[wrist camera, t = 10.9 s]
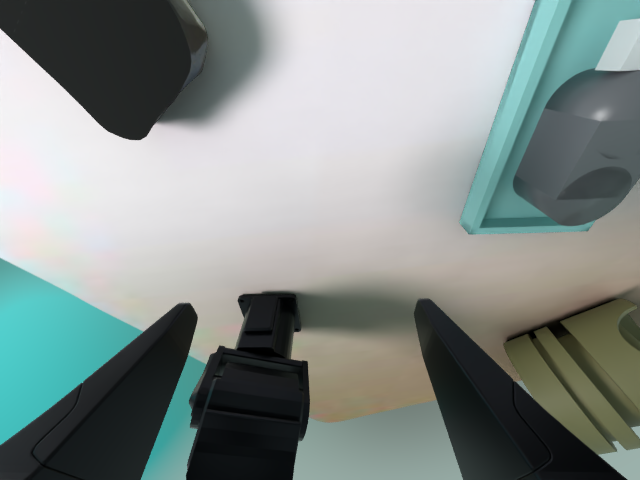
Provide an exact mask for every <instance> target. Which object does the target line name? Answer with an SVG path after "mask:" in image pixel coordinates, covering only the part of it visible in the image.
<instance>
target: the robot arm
mask: <svg viewBox="0 0 640 480" xmlns="http://www.w3.org/2000/svg"><path fill="white" fill-rule="evenodd" d="M238 303H239V306H240V308H241V311H242V314H243V316H244V321H243V324H242V327H241V331H240V334H239V337H238V340H237V343H236V347H235V349H230V348H225V346H219V348H218V350H217V352H216V353H213V354H211V355H210V357H209V360H208V362H207V365H206V367H205V370H204V372H203V374H202V376H201V378H200V380H199V382H198V384H197V385H196V387H195V389H194V391H193V393H192V395H191V397H190V400H189V404H190V406H191V408H192V413H191V416H192V419H191V423H190V428H194V429H198V430H197V433H196V437H195V440H194V443H193V446H192V450H191V453H190V456H189V459H188V464H187V470H188V471H187V474H186V480H293V472H294V463H295V457H296V451H297V446H298V441H302V440H303V438H304V436H305V433H306V429H307V424H308V418H309V407H310V396H309V378H308V361H303V360H302V361H297V360H292V359H291V352H292V343H293V334H294V332H299V331H301V323H300V316H299V310H298V304H297V297H296V296H295V295H292V294H287V295H241V296H239V298H238ZM414 318H415V323H416V327H417V332H418V337H419V342H420V346H421V351H422V355H423V359H424V362H425V365H426V368H427V371H428V374H429V377H430V380H431V383H432V386H433V389H434V392H435V395H436V398H437V402H438V405H439V408H440V410H441V413H442V416H443V420H444V423H445V425H446V429H447V432H448V435H449V438H450V441H451V444H452V447H453V450H454V453H455V456H456V459H457V462H458V465H459V468H460V471H461V474H462V477H463V480H627V479H626V478H625V477H624V476H622V475H621V474H620V473H619V472H617V471H616V470H615V469H614V468H613V467H611V466H610V465H609V464H608V463H607V462H606V461H604V460H603V459H602V458H601V457H600V456H598V455H597V454H596V453H595V452H594V451H593V450H592V449H590V448H589V447H588V446H587V445H586V444H584V443H583V442H582V441H581V440H580V439H579V438H577V437H576V436H575V435H574V434H573V433H572V432H570V431H569V430H568V429H567V428H566V427H564V426H563V425H562V424H561V423H560V422H559V421H558V420H556V419H555V418H554V417H553V416H552V415H551V414H550V413H548V412H547V411H546V410H545V409H544V408H543V407H542V406H541V405H540V404H539V403H538V402H536V401H535V400H534V399H533V398H532V397H531V396H530V395H529V394H528V393H527V392H526V391H525V390H524V389H523V388H522V387H520V386H519V385H518V384H517V383H516V382H515V381H513V379H512V378H511V377H510V376H509V375H508V374H507V373H506V372H505V371H504V370H503V369H502V368H501V367H500V366H499V365H498V364H497V363H496V362H495V361H494V360H493V359H492V358H491V357H489V356H488V355H487V354H486V353H485V352H484V351H483V350H482V349H481V348H480V347H479V346H478V345H477V344H476V343H475V342H474V341H473V340H472V339H471V338H470V337H469V336H468V335H467V334H466V333H465V332H464V331H463V330H462V329H461V328H460V327H458V326H457V325H456V324H455V323H454V322H453V321H452V320H451V319H450V318H449V317H448V316H447V315H446V314H445V313H444V312H443V311H442V310H441V309H440V308H439V307H438V306H437V305H436V304H435V303H434V302H433V301H432V300H430V299H418V301H417V304H416V308H415V311H414ZM197 320H198V317H197V314H196V312H195V310H194V308H193V307H192V305H191V304H190V303H179V304H177V305H176V306H175V307H173V308H172V309H171V310H170V311H169V312H167V313H166V314H165V315H164V316H162V317H161V318H160V319H159V320H158V321H156V322H155V323H154V324H153V325H151V326H150V327H149V328H148V329H147V330H145V331H144V332H143V333H142V334H140V335H139V336H138V337H137V338H136V339H134V340H133V341H132V342H131V343H130V344H128V345H127V346H126V347H125V348H123V349H122V350H121V351H120V352H118V353H117V354H116V355H115V356H114V357H112V358H111V359H110V360H109V361H108V362H106V363H105V364H104V365H103V366H101V367H100V368H99V369H98V370H97V371H95V372H94V373H93V374H92V375H91V376H89V377H88V378H87V379H86V380H85V381H84V382H83V383H81V384H79V385H78V386H77V387H76V388H75V389H73V390H72V391H71V392H70V393H68V394H67V395H66V396H65V397H64V398H62V399H61V400H60V401H58V402H57V403H56V404H55V405H53V406H52V407H51V408H49V410H47V411H46V412H44V413H43V414H42V415H40V416H39V417H38V418H36V419H35V420H34V421H32V422H31V423H30V424H28V425H27V426H26V427H25V428H23V429H22V430H20V431H19V432H18V433H16V434H15V435H13V436H12V437H11V438H9V439H8V440H7V441H5V442H4V443H3V444H1V445H0V480H141V477H142V474H143V472H144V469H145V466H146V464H147V461H148V459H149V456H150V454H151V451H152V448H153V446H154V443H155V441H156V438H157V435H158V433H159V430H160V428H161V425H162V422H163V420H164V417H165V415H166V412H167V409H168V407H169V404H170V402H171V399H172V396H173V394H174V391H175V389H176V386H177V383H178V381H179V378H180V375H181V373H182V370H183V368H184V365H185V362H186V359H187V357H188V353H189V350H190V346H191V343H192V339H193V335H194V332H195V328H196V324H197Z"/></svg>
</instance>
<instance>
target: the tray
mask: <svg viewBox="0 0 640 480" xmlns="http://www.w3.org/2000/svg"><path fill="white" fill-rule="evenodd" d="M639 18H640V0H535V3H534V6H533V9H532V12H531V15H530V18H529V21H528V24H527V27H526V30H525V32H524V35H523V38H522V41H521V44H520V47H519V50H518V53H517V56H516V59H515V62H514V64H513V67H512V70H511V73H510V76H509V79H508V82H507V85H506V88H505V91H504V94H503V97H502V99H501V102H500V105H499V108H498V111H497V114H496V117H495V120H494V123H493V126H492V129H491V132H490V134H489V137H488V140H487V143H486V146H485V149H484V152H483V155H482V158H481V161H480V164H479V167H478V169H477V172H476V175H475V178H474V181H473V184H472V187H471V190H470V193H469V196H468V199H467V201H466V204H465V207H464V210H463V213H462V216H461V219H460V222H459V223H460V224H461V225H462V226H463V228H464V229H465V230H466V231H467V233H468V234H504V233H539V232H575V231H588V230H589V229H590V227H591V226H592V225H593V223H594V222H595V221H596V220H594V221H592V222H589V223H586V224H583V225H578V226H563V225H560V224H558V223H557V222H555V221H554V220H552V219H551V218H550V217H548V216H547V215H545V214H544V213H543V212H541V211H540V210H538V209H537V208H536V207H534V206H533V205H531V204H530V203H528V202H527V201H526V200H524V199H523V198H521V197H520V196H519V195H517V194H516V193H515V191H514V189H513V179H514V176H515V174H516V171H517V169H518V167H519V164H520V162H521V160H522V158H523V155H524V153H525V151H526V149H527V146H528V144H529V142H530V139H531V137H532V135H533V133H534V130H535V128H536V126H537V123H538V121H539V119H540V117H541V114H542V112H543V110H544V108H545V106H546V104H547V102H548V100H549V99H550V97H551V96H552V95H553V93H554V92H555V91H556V90H557V89H558V88H559V87H560V86H561V85H562V84H563V83H564V82H566V81H567V80H568V79H570V78H571V77H573V76H574V75H576V74H578V73H580V72H582V71H585V70H588V69H592V68H596V67H597V65H598V63H599V61H600V59H601V57H602V55H603V53H604V51H605V49H606V47H607V45H608V43H609V41H610V39H611V37H612V35H613V33H614V31H615V29H616V27H617V25H618V23H619V21H623V20H631V19H639Z"/></svg>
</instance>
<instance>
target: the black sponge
mask: <svg viewBox="0 0 640 480" xmlns="http://www.w3.org/2000/svg"><path fill="white" fill-rule="evenodd" d="M0 29H1V30H2V31H4V32H5V33H6V34H7V35H8V36H9V37H10V38H11V39H12V40H13V41H14V42H15V43H16V44H17V45H18V46H19V47H21V48H22V49H23V50H24V51H25V52H26V53H27V54H28V55H29V56H30V57H31V58H32V59H33V60H34V61H35V62H36V63H37V64H39V65H40V66H41V67H42V68H43V69H44V70H45V71H46V72H47V73H48V74H49V75H50V76H51V77H52V78H54V79H55V80H56V81H57V82H58V83H59V84H60V85H61V86H62V87H63V88H64V89H65V90H66V91H67V92H68V93H69V94H70V95H71V96H72V97H73V98H74V99H75V100H76V101H77V102H78V103H79V104H80V105H81V106H82V107H83V108H84V109H85V110H86V111H87V112H88V113H89V114H90V115H91V116H92V117H93V118H94V119H95V120H96V121H97V122H98V123H99V124H100V125H101V126H102V127H103V128H105V129H106V130H107V131H108V132H111V133H113V134H115V135H117V136H120V137H122V138H126V139H129V140H141V139H143V138H144V137H146V136H147V135H148V133H149V131H150V130H151V128H152V126H153V125H154V124H155V123H156V122H157V121H158V120H159V119H160V117H161V116H162V115H163V113H164V112H165V111H166V109H167V108H168V107H169V106H170V105H171V104H172V103H173V101H174V100H175V98H176V97H177V95H178V94H179V92H180V91H181V90H182V89H184V88H185V87H186V86H187V85H188V84H189V83H190V82H191V81H192V80H193V79H194V78H195V77H197V76H198V75H199V74H200V73H201V71H202V68H203V65H204V62H205V57H206V53H207V48H208V37H207V32H206V29H205V27H204V25H203V23H202V22H201V21H200V19H199V18H198V17H197V15H196V14H195V12H194V10H193V9H192V8H191V6H190V5H189V3H188V2H187V1H186V0H0Z"/></svg>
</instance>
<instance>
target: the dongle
mask: <svg viewBox="0 0 640 480" xmlns="http://www.w3.org/2000/svg"><path fill="white" fill-rule="evenodd" d="M639 178H640V18H639V19H631V20H623V21H619V23H618V25H617V27H616V29H615V31H614V33H613V35H612V37H611V39H610V41H609V43H608V45H607V47H606V49H605V51H604V53H603V55H602V57H601V59H600V61H599V63H598V65H597V67H596V68H592V69H588V70H585V71H582V72H580V73H578V74H576V75H574V76H573V77H571V78H570V79H568V80H567V81H566V82H564V83H563V84H562V85H561V86H560V87H559V88H558V89H557V90H556V91H555V92H554V93H553V95H552V96H551V97H550V99H549V100H548V102H547V104H546V106H545V108H544V110H543V112H542V114H541V117H540V119H539V121H538V123H537V126H536V128H535V130H534V133H533V135H532V137H531V139H530V142H529V144H528V146H527V149H526V151H525V153H524V155H523V158H522V160H521V162H520V164H519V167H518V169H517V171H516V174H515V176H514V179H513V189H514V191H515V193H516V194H517V195H519V196H520V197H521V198H523V199H524V200H526V201H527V202H528V203H530V204H531V205H533V206H534V207H536V208H537V209H538V210H540V211H541V212H543V213H544V214H545V215H547V216H548V217H550V218H551V219H552V220H554V221H555V222H557V223H558V224H560V225H563V226H578V225H583V224H586V223H589V222H592V221H594V220H596V219H599V218H600V217H602V216H604V215H606V214H607V213H609V212H610V211H611V210H613V209H614V208H615V207H616V206H617V205H618V204H619V203H620V202H621V201H622V200H623V199H624V198H625V196H626V195H627V194H628V192H629V191H630V190H631V188H632V187H633V186H634V185H635V183H636V182H637V181H638V179H639Z"/></svg>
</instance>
